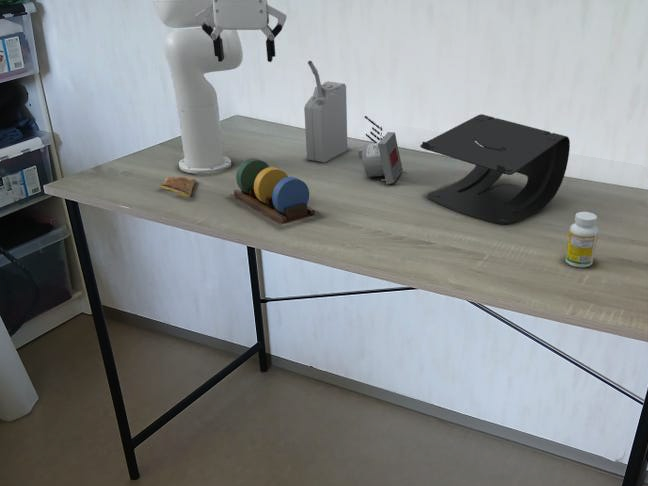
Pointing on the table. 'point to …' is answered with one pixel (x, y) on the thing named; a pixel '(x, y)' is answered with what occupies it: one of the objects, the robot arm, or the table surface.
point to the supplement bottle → (582, 240)
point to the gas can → (326, 120)
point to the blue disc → (289, 193)
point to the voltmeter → (381, 156)
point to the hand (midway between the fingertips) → (245, 60)
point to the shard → (179, 185)
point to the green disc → (249, 173)
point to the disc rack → (270, 211)
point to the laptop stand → (501, 168)
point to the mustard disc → (267, 182)
